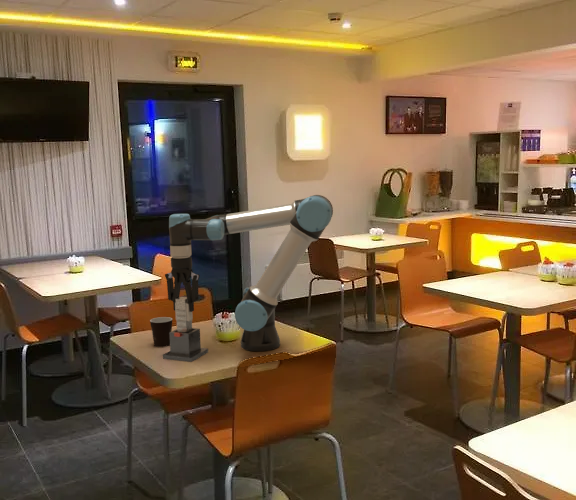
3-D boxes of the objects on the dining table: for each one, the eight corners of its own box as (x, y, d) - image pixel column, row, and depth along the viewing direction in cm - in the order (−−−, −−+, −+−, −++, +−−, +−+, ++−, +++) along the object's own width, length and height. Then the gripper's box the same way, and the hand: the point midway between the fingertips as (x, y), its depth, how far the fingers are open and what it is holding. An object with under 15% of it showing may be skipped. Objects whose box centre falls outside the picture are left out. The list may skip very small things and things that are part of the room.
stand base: (208, 352, 232) (207, 327, 230) (191, 362, 221) (190, 335, 219) (180, 349, 236) (179, 324, 235) (162, 358, 225) (161, 332, 224)
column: (193, 344, 229) (190, 297, 227) (186, 348, 225) (184, 299, 223) (183, 343, 231) (181, 296, 228) (177, 347, 227) (174, 299, 224)
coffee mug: (168, 348, 239) (167, 322, 237) (147, 347, 240) (146, 322, 239) (179, 339, 250) (178, 315, 249) (159, 338, 252) (158, 315, 250)
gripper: (207, 256, 224) (209, 319, 227) (167, 254, 230) (170, 315, 233) (196, 259, 217) (199, 324, 220) (155, 257, 223) (158, 320, 227)
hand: (184, 319), depth 227 cm, fingers closed on column, 4 cm apart
